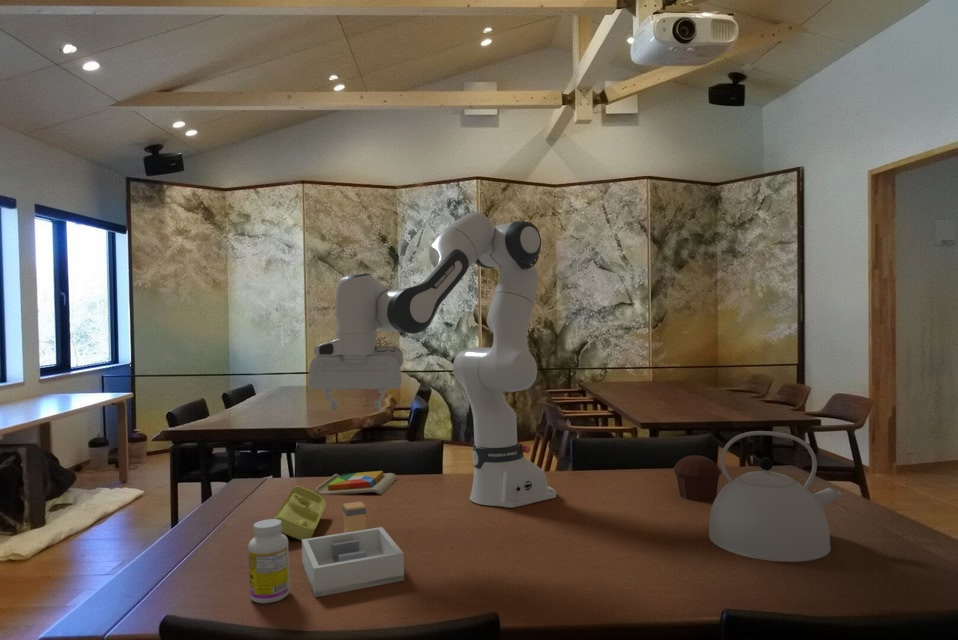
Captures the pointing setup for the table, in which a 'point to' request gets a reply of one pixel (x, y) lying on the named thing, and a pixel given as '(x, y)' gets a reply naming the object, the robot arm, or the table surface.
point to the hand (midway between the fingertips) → (355, 409)
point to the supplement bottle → (268, 562)
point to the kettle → (771, 513)
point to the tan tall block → (354, 516)
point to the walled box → (351, 561)
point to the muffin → (697, 478)
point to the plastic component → (301, 513)
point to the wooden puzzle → (357, 483)
